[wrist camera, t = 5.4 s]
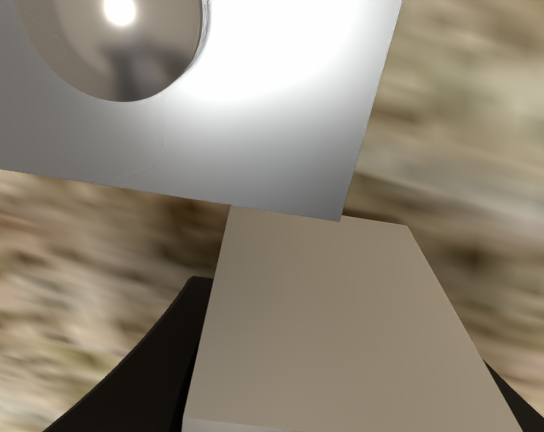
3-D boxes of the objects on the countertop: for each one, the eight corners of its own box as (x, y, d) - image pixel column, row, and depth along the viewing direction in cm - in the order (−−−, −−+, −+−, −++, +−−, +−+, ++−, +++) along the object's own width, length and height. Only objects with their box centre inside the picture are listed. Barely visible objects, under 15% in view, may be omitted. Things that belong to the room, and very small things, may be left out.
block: (360, 351, 13) (423, 623, 7) (213, 332, 12) (163, 601, 7) (407, 225, 10) (548, 475, 5) (231, 198, 10) (179, 433, 5)
